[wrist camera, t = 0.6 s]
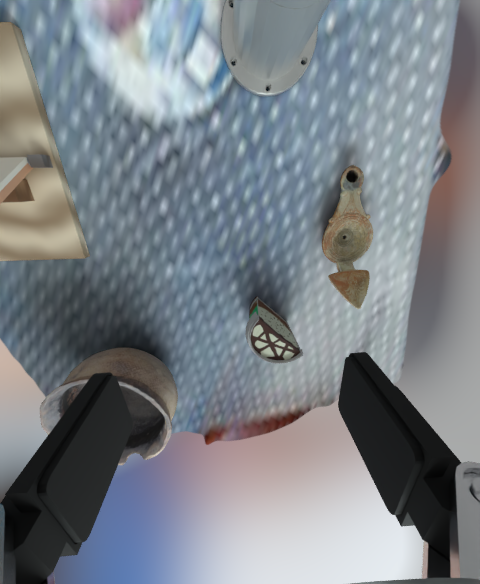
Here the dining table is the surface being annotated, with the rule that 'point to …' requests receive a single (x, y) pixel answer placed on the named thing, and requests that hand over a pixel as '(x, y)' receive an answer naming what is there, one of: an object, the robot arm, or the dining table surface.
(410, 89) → the dining table surface
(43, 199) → the tile stand
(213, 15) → the dining table surface
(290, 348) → the food container
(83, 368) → the ceramic bowl
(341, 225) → the oil lamp
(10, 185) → the tile
